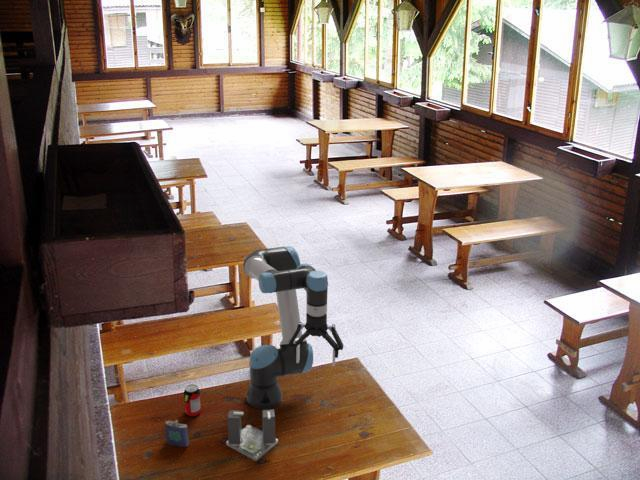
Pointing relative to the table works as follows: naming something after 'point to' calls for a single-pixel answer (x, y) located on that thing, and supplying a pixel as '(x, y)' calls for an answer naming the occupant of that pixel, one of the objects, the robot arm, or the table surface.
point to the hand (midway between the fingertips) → (315, 362)
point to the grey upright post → (234, 427)
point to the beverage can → (192, 400)
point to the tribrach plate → (252, 443)
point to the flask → (176, 434)
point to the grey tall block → (268, 426)
